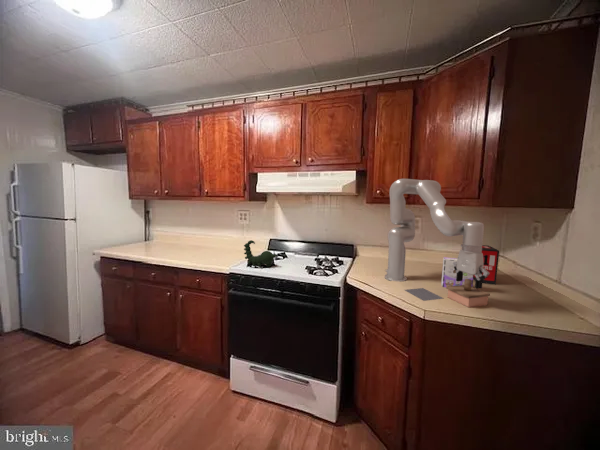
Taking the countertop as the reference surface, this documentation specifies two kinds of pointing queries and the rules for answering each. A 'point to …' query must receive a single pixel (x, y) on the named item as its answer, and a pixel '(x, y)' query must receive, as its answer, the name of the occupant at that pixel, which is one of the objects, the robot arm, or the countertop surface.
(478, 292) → the lid
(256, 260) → the toy figurine
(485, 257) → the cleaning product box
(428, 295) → the grey flat piece
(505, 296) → the countertop surface
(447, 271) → the candy box
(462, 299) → the pink square tray
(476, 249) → the robot arm
